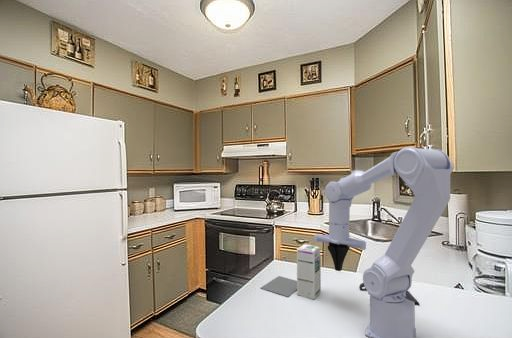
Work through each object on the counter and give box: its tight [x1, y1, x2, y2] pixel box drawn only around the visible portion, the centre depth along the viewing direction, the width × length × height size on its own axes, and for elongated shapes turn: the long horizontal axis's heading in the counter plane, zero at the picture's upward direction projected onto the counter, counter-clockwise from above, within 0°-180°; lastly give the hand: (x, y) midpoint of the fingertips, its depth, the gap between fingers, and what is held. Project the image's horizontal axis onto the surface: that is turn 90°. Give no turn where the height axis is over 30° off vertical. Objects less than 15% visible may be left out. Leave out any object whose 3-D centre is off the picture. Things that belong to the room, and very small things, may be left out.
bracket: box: [358, 282, 421, 307], centre depth 83 cm, size 14×15×3 cm
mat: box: [260, 275, 297, 298], centre depth 86 cm, size 10×12×1 cm
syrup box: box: [296, 244, 322, 300], centre depth 81 cm, size 6×6×14 cm
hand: (338, 269), depth 76 cm, fingers closed
